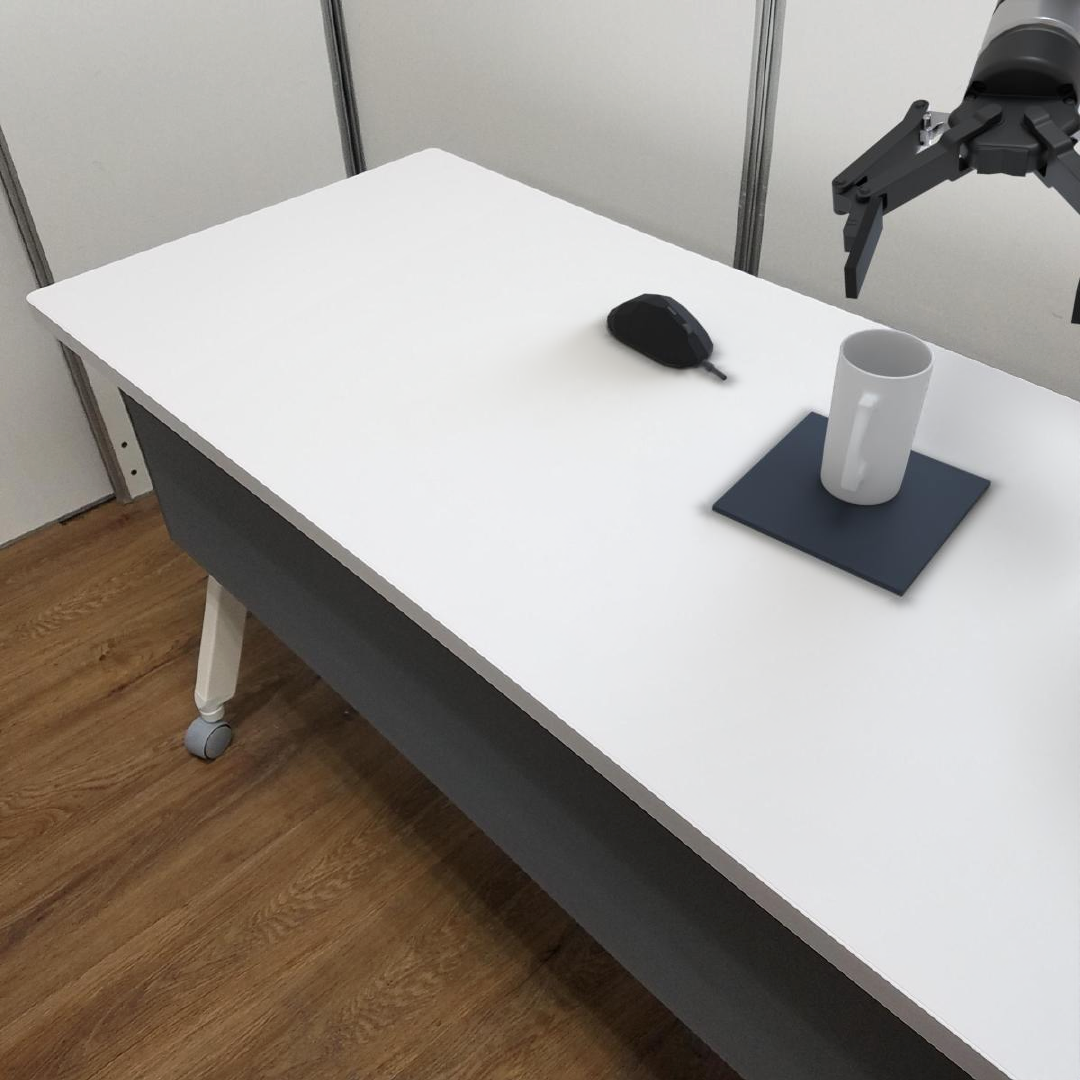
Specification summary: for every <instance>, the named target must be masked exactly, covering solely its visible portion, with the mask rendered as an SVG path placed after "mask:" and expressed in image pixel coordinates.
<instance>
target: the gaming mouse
mask: <svg viewBox="0 0 1080 1080" xmlns="http://www.w3.org/2000/svg"><path fill="white" fill-rule="evenodd" d="M606 324H607V326H608V329H609V330H610V331H611V333H613V334H614V336H615V337H616V338H617V339H619V340H621V341H622V342H624V343H625V344H627V345H629V346H631V347H633V348H635V349H637V350H639V351H640V352H642V353H644V354H645V355H647V356H648V357H651V358H652V359H654V360H656V361H657V362H660V363H662V364H664V365H666V366H671V367H676V368H683V367H689V366H696V365H699V364H700V365H702V366H703V367H704V368H705V369H706V370H708V371H710V372H713V373H715V374H716V375H717V376H718V377H720V378H721V379H723V380H727V379H728V375H726V374H725V373H723V372H722V371H720V370H719V369H718V368H716V367H715V364H713V363H712V362H711V361H709V360H708V359H709V357H710V356H711V355H712V353H714V342H713V341H712V339H711V336H710V335H709V333H708V331H707V330H706V329H705V328H704V326H703V325H702V324H701V323H700V321H699V320H698V319H697V318H696V317H695V316H694V315H693V313H692V312H691V311H689V310H688V309H687V307H685V306H684V305H683V304H682V303H680V302H679V301H678V300H676V299H674V298H673V297H672V296H669V295H663V294H657V293H645V292H644V293H642V294H640V295H638V296H635V297H633V298H630V299H629V300H626V301H624V302H622V303H620V304H619V305H617V306H615V307H614V308H612V309H611V310H610V312H609V313H608V314H607V316H606Z"/></svg>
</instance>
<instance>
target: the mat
mask: <svg viewBox="0 0 1080 1080" xmlns="http://www.w3.org/2000/svg"><path fill="white" fill-rule="evenodd" d="M828 419H829V416H825V415H823V414H820V413H817V412H815V411H810V412H809V413H808V414H807V415H806V416H805V417H804V418H803V419H802V420H801V421H800V422H798V424H796V425H795V427H793V428H792V429H791V430H790V431H789V432H788V433H787V434H786V435H785V436H784V437H783V438H782V439H780V440H779V441H778V443H777V444H775V445H774V446H773V447H772V448H771V449H770V450H769V451H768V452H767V453H766V454H765V455H764V456H763V457H762V458H760V460H759V461H757V462H756V463H755V464H754V465H753V466H752V467H751V468H750V469H749V470H748V471H747V472H746V473H745V474H744V475H742V476H741V478H739V480H737V482H735V483H734V484H733V485H732V486H731V487H730V488H729V489H728V490H727V491H726V492H724V494H723V495H722V496H721V497H720V498H718V499H717V500H716V501H715V502H714V503H713V504H712V505H711V511H714V512H716V513H718V514H720V515H722V516H725V517H726V518H729V519H731V520H733V521H736V522H738V523H739V524H742V525H743V526H746V527H748V528H751V529H752V530H753V529H754V530H755V531H756V532H759V533H761V534H764V535H765V536H768V537H770V538H772V539H774V540H777V541H779V542H782V544H783V543H784V544H786V545H788V546H790V547H792V548H795V549H797V550H799V551H801V552H803V553H805V554H807V555H810V556H812V557H814V558H817V559H819V560H820V561H823V562H825V563H828V564H830V565H831V566H834V567H836V568H838V569H841V570H842V571H844V572H847V573H848V574H849V573H850V574H851V575H854V576H855V577H858V578H860V579H863V580H865V581H866V582H869V583H870V584H873V585H876V586H878V587H880V588H882V589H885V590H886V591H888V592H891V593H893V594H895V595H897V596H900V597H902V596H903V595H904V594H905V593H906V591H907V590H908V589H909V588H910V586H911V585H912V584H913V583H914V581H915V580H916V579H917V578H918V577H919V575H921V573H922V571H923V570H924V569H925V568H926V567H927V565H928V564H929V563H930V562H931V560H932V559H933V558H934V557H935V555H936V554H937V552H938V551H939V550H940V549H941V548H942V547H943V545H944V544H945V543H946V541H947V540H948V538H949V537H950V536H951V535H953V532H955V530H956V529H957V527H958V526H959V525H960V524H961V523H962V522H963V520H964V518H965V517H966V516H967V515H968V514H969V513H970V511H971V510H972V509H973V507H974V506H975V505H976V504H977V502H978V501H979V500H980V498H981V497H982V496H983V495H984V494H985V492H986V491H987V490H988V488H989V487H990V486H991V483H992V481H991V480H990V479H987V478H985V477H982V476H979V475H977V474H974V473H971V472H969V471H967V470H964V469H962V468H959V467H956V466H953V465H951V464H949V463H947V462H944V461H941V460H938V459H936V458H934V457H931V456H928V455H925V454H924V453H921V452H917V451H915V450H913V449H911V451H910V455H909V458H908V462H907V466H906V469H905V473H904V476H903V480H902V483H901V486H900V489H899V491H898V493H897V494H896V495H895V496H894V497H893V498H892V499H890V500H889V501H886V502H884V503H881V504H876V505H858V504H853V503H849V502H846V501H843V500H841V499H839V498H837V497H835V496H833V495H832V494H831V493H829V492H828V491H827V490H826V488H825V487H824V486H823V484H822V481H821V468H822V461H823V453H824V445H825V438H826V432H827V426H828Z"/></svg>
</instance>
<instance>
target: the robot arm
mask: <svg viewBox="0 0 1080 1080" xmlns="http://www.w3.org/2000/svg"><path fill="white" fill-rule="evenodd" d="M939 135H940V136H939ZM937 136H939V139H938V140H937V141H936V142H935V143H934V144H931V141H932V140H933V139H935V138H936V137H937ZM1079 142H1080V0H997V2H996V5H995V8H994V11H993V12H992V15H991V18H990V21H989V23H988V26H987V28H986V31H985V34H984V37H983V39H982V42H981V45H980V48H979V50H978V53H977V57H976V60H975V63H974V65H973V69H972V71H971V74H970V77H969V80H968V83H967V86H966V89H965V92H964V95H963V97H962V99H961V103H960V104H959V105H958V106H957V107H956V108H954V109H953V110H952V111H951V112H941V111H935V110H934V111H932V110H930V102H929V101H928V100H926V99H917V100H914V101H913V102H912V103H911V104H910V107H909V108H908V110H907V111H906V113H905V115H904V117H903V119H902V120H901V121H900V122H898V124H897V125H895V126H893V128H892V129H891V130H889V131H888V132H887V133H886V134H885V135H883V136H882V137H881V138H880V139H879V140H877V141H876V142H875V143H874V144H873V145H871V146H870V147H869V149H867V150H865V152H863V153H862V154H860V156H859V157H858V158H856V159H855V160H854V161H853V162H852V163H851V164H849V165H848V166H846V168H844V169H843V170H842V171H841V172H840V173H838V174H837V175H836V176H835V177H834V178H833V179H832V181H831V194H832V195H831V196H832V209H833V213H834V214H835V215H837V216H845V215H848V216H847V219H846V222H845V224H844V227H843V229H842V240H843V250H844V253H848V256H847V259H846V262H845V264H844V267H843V273H844V292H845V299H852V300H858V298H859V296H860V293H861V291H862V287H863V284H864V282H865V279H866V277H867V273H868V271H869V268H870V264H871V262H872V259H873V257H874V254H875V251H876V249H877V245H878V243H879V240H880V238H881V235H882V232H883V229H884V218H883V217H884V216H886V215H887V214H889V213H891V212H893V211H895V210H896V209H898V208H900V207H902V206H903V205H905V204H907V203H909V202H911V201H912V200H914V199H915V198H918V197H920V196H921V195H922V194H925V193H926V192H928V191H929V190H931V189H934V188H935V187H937V186H939V185H940V184H942V183H945V182H946V181H949V182H952V183H953V182H955V181H957V180H959V179H961V178H963V177H964V176H966V175H968V174H969V173H971V172H973V171H976V174H977V175H989V176H990V175H998V174H1003V175H1008V176H1011V177H1021V178H1026V177H1027V174H1032V173H1033V174H1034V176H1036V177H1037V178H1038V180H1039V181H1040V182H1041V183H1042V184H1043V185H1044V186H1045V187H1046V188H1048V189H1051V188H1053V189H1054V190H1055V191H1056V192H1057V193H1058V194H1059V195H1060V196H1061V197H1062V198H1063V199H1064V201H1065V202H1066V203H1068V205H1069V206H1070V207H1071V208H1072V209H1073V210H1074V211H1075V213H1077V214H1078V215H1079V216H1080V154H1079V152H1078V151H1076V149H1075V147H1076V146H1077V145H1078V143H1079ZM922 147H923V148H925V149H923V150H921V149H922ZM1070 324H1073V325H1080V278H1079V279H1078V283H1077V287H1076V290H1075V297H1074V301H1073V309H1072V313H1071V318H1070Z"/></svg>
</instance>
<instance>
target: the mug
mask: <svg viewBox="0 0 1080 1080" xmlns="http://www.w3.org/2000/svg"><path fill="white" fill-rule="evenodd" d="M935 360H936V357H935V353H934V351H933V349H932V348H931V346H930V345H929V344H928V343H926V342H925V341H924V340H922V339H921V338H919V337H917V336H915V335H913V334H911V333H907V332H904V331H902V330H897V329H892V328H891V329H890V328H868V329H862V330H859V331H855V332H853V333H851V334H849V335H848V336H846V337H845V338H844V339H843V340H841V343H840V345H839V352H838V358H837V362H836V367H835V373H834V380H833V385H832V394H831V400H830V408H829V413H828V418H829V419H828V426H827V432H826V438H825V445H824V453H823V461H822V468H821V481H822V484H823V486H824V487H825V488H826V490H827V491H828V492H829V493H831V494H832V495H833V496H835V497H837V498H839V499H841V500H843V501H846V502H849V503H853V504H858V505H876V504H881V503H884V502H886V501H889V500H890V499H892V498H893V497H894V496H895V495H896V494H897V493H898V491H899V489H900V486H901V483H902V480H903V476H904V473H905V469H906V466H907V462H908V458H909V455H910V451H911V450H912V447H913V443H914V439H915V436H916V432H917V428H918V425H919V421H920V418H921V414H922V410H923V407H924V404H925V399H926V395H927V392H928V388H929V385H930V381H931V378H932V375H933V374H932V373H933V369H934V364H935V362H936V361H935Z"/></svg>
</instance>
